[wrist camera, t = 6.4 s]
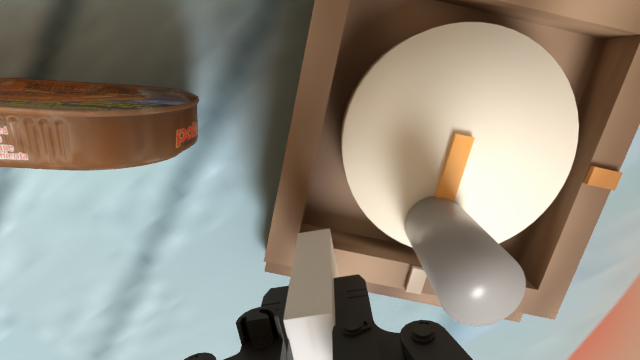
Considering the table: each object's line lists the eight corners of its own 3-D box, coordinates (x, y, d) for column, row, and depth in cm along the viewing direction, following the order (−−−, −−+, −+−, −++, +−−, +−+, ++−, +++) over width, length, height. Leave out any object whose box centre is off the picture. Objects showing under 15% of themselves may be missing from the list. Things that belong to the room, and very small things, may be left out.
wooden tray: (269, 256, 25) (256, 297, 20) (337, -90, 20) (341, -140, 15) (505, 303, 26) (544, 353, 21) (630, -19, 21) (719, -46, 16)
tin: (217, 90, 22) (157, 100, 14) (218, 144, 23) (160, 181, 15) (-42, 74, 22) (-251, 73, 14) (-32, 128, 23) (-224, 157, 15)
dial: (368, 5, 19) (401, -47, 11) (582, 55, 19) (768, 41, 11) (321, 213, 22) (318, 295, 14) (508, 251, 22) (613, 354, 14)
